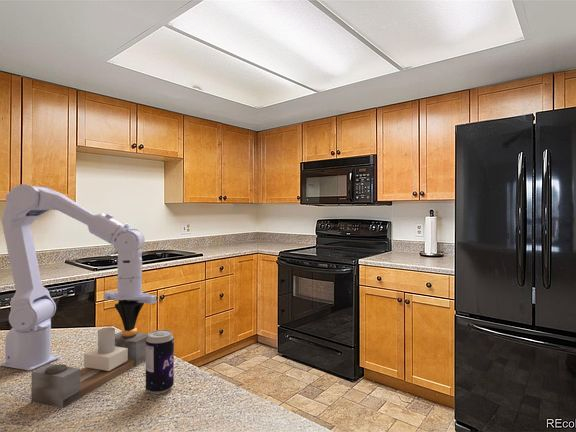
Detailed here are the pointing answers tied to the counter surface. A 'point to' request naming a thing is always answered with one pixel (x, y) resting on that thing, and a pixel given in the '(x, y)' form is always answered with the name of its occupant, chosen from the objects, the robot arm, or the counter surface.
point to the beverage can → (159, 361)
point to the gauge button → (129, 333)
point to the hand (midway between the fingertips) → (129, 329)
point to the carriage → (106, 352)
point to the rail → (82, 375)
